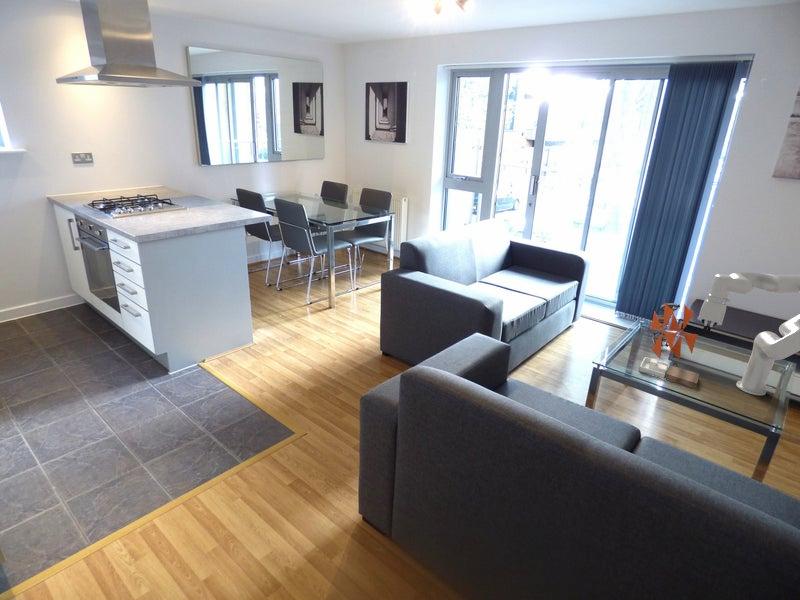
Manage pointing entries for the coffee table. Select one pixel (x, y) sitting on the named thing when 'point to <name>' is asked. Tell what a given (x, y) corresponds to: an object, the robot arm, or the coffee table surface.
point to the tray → (645, 366)
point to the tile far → (653, 364)
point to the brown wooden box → (682, 376)
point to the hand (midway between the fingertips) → (705, 332)
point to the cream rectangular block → (660, 368)
